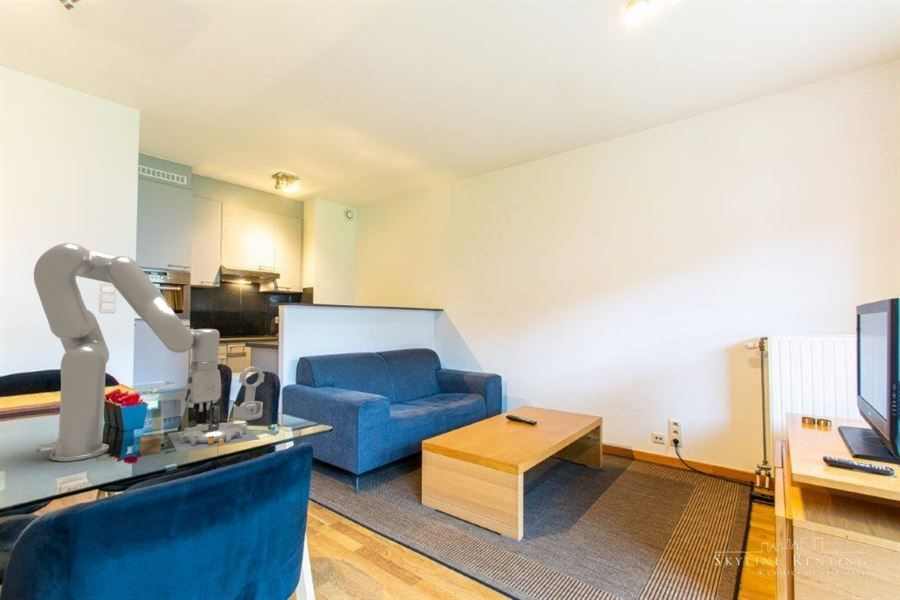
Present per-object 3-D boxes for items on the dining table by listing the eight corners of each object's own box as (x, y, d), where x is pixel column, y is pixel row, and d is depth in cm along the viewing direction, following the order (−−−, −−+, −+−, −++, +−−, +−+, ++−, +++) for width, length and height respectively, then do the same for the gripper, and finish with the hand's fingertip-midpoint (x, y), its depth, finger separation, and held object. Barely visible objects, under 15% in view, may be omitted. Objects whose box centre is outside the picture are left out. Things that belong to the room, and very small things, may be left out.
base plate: (177, 458, 118) (178, 447, 118) (166, 438, 135) (167, 428, 135) (259, 443, 132) (260, 433, 132) (240, 427, 150) (240, 418, 150)
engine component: (228, 421, 158) (241, 425, 152) (230, 366, 158) (243, 369, 152) (256, 415, 166) (269, 420, 160) (258, 364, 167) (271, 366, 161)
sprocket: (167, 436, 131) (168, 411, 131) (227, 424, 147) (228, 401, 147) (195, 449, 120) (197, 421, 121) (257, 434, 136) (258, 409, 136)
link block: (140, 461, 115) (141, 440, 115) (139, 456, 118) (140, 436, 118) (160, 458, 118) (161, 437, 118) (158, 453, 121) (159, 434, 121)
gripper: (191, 369, 128) (187, 430, 128) (232, 365, 143) (228, 419, 142) (174, 367, 131) (170, 426, 130) (215, 363, 145) (212, 416, 144)
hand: (200, 422), depth 136 cm, fingers closed
